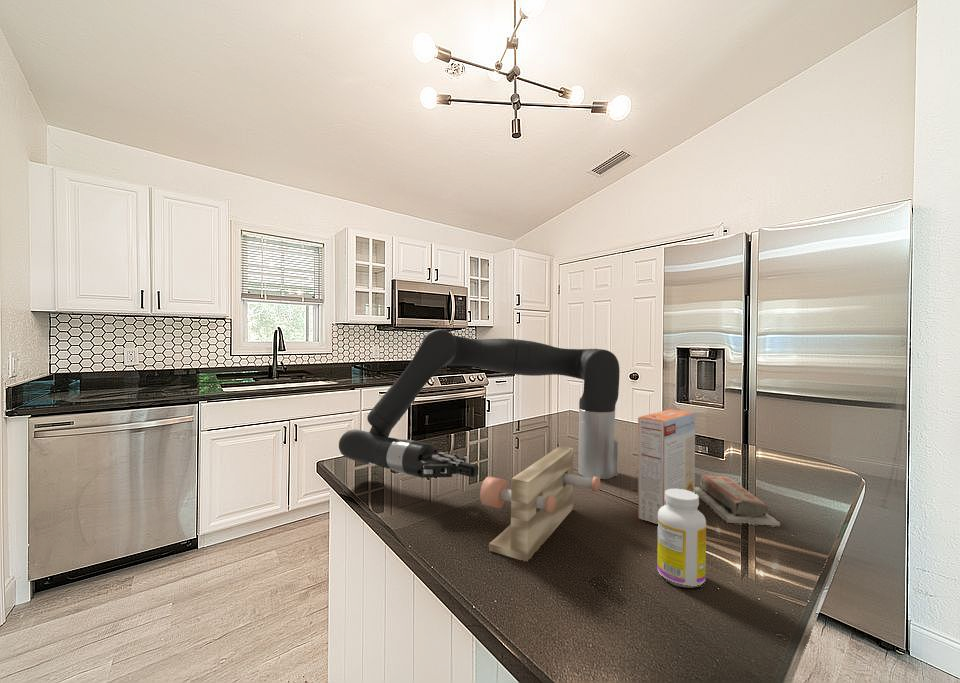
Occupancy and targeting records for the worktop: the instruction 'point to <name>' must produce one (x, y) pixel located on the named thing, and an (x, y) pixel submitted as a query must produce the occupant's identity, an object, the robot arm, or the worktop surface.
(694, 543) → the supplement bottle
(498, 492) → the knob
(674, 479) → the cracker box
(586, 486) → the knob
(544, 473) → the knob panel
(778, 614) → the worktop surface
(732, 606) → the worktop surface
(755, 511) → the packaged product
